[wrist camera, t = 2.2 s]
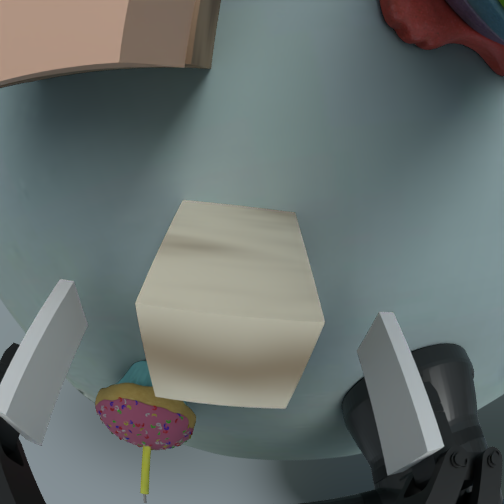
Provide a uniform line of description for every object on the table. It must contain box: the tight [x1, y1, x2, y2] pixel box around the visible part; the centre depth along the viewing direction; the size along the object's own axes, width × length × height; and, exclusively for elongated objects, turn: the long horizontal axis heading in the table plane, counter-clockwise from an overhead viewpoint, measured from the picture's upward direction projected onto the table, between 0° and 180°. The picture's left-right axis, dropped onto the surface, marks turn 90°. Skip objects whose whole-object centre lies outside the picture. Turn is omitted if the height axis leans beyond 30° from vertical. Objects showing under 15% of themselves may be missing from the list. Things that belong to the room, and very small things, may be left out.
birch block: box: [135, 200, 325, 409], centre depth 14 cm, size 6×6×8 cm
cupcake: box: [95, 361, 196, 503], centre depth 19 cm, size 9×8×12 cm
